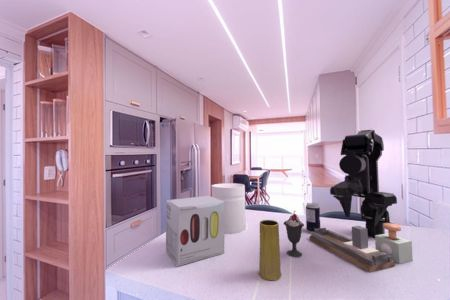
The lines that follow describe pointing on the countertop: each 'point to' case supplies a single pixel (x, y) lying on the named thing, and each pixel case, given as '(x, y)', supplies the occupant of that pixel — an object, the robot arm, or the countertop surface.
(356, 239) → the carriage
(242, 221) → the canister
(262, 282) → the countertop surface
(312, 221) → the beverage can
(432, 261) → the countertop surface
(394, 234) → the button
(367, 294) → the countertop surface
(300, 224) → the sundae
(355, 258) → the rail
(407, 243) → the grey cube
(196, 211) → the supplement box
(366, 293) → the countertop surface
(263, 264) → the vase
